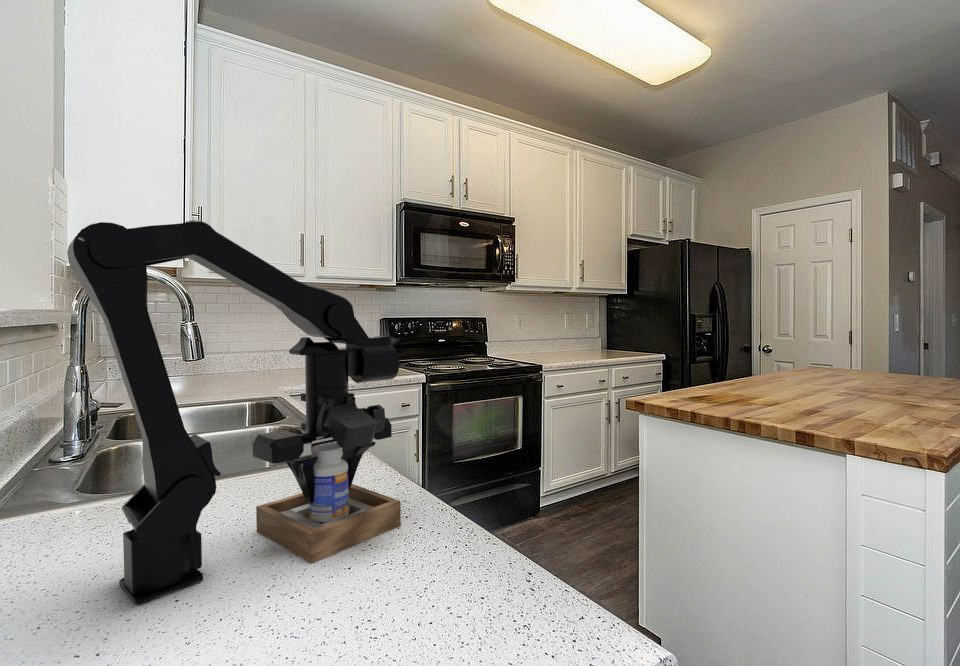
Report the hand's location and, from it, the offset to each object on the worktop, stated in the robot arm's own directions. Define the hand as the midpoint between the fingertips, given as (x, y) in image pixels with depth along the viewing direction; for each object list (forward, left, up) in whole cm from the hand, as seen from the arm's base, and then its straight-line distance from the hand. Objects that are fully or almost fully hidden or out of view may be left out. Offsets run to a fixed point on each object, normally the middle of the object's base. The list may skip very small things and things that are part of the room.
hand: (328, 497), depth 68 cm
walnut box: (0, 0, -4) cm, 4 cm away
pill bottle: (0, 0, -3) cm, 3 cm away
